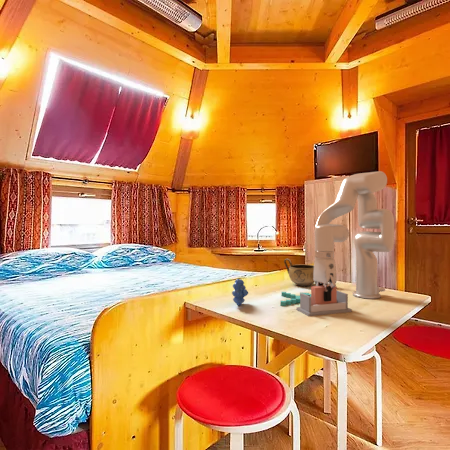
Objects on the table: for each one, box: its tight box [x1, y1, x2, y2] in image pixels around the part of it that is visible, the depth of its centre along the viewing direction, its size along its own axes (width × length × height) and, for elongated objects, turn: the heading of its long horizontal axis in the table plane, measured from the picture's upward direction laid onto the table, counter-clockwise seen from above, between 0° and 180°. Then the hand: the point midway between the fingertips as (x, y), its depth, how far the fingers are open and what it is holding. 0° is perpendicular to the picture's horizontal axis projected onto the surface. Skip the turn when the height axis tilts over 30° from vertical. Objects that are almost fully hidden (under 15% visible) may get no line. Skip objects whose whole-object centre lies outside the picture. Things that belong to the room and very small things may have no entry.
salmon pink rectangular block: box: [310, 285, 338, 305], centre depth 129 cm, size 10×3×9 cm, turn 107°
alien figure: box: [280, 291, 311, 307], centre depth 145 cm, size 20×2×20 cm
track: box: [296, 290, 353, 317], centre depth 129 cm, size 20×9×7 cm, turn 107°
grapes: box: [231, 278, 249, 307], centre depth 137 cm, size 12×7×12 cm, turn 156°
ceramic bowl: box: [283, 258, 315, 287], centre depth 181 cm, size 22×17×15 cm
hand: (323, 299), depth 129 cm, fingers open, 4 cm apart
